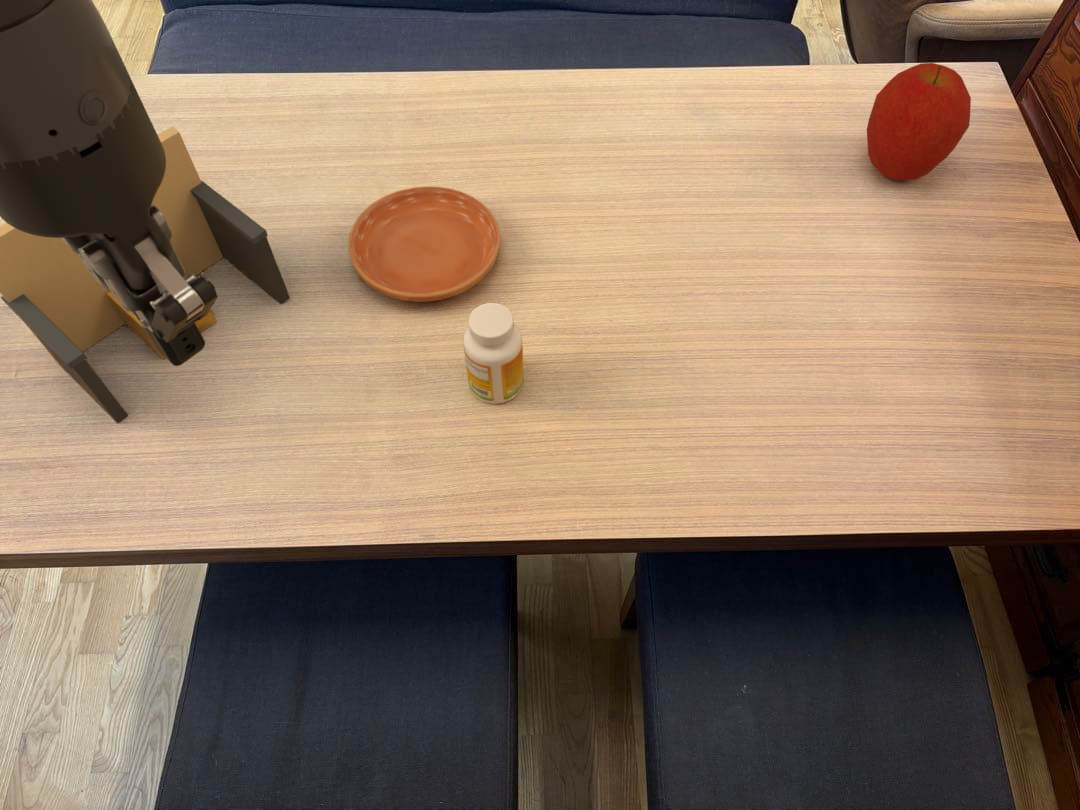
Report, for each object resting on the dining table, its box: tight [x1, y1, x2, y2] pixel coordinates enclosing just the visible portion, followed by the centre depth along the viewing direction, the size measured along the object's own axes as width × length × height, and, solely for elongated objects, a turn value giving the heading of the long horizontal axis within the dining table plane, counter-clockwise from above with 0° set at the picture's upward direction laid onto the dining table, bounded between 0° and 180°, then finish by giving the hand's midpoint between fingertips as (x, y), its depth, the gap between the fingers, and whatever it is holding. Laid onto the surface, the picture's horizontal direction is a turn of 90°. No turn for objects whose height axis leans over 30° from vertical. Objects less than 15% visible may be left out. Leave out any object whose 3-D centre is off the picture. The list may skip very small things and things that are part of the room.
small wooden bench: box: [0, 126, 291, 424], centre depth 80 cm, size 11×21×16 cm, turn 138°
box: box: [107, 277, 217, 360], centre depth 85 cm, size 6×6×5 cm
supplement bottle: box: [462, 302, 525, 405], centre depth 79 cm, size 5×5×10 cm
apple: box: [866, 62, 972, 182], centre depth 93 cm, size 10×10×14 cm
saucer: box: [347, 185, 501, 303], centre depth 91 cm, size 16×16×3 cm
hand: (184, 350), depth 49 cm, fingers closed
